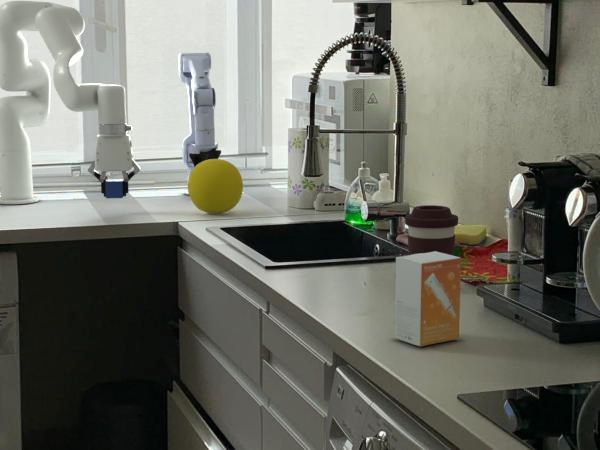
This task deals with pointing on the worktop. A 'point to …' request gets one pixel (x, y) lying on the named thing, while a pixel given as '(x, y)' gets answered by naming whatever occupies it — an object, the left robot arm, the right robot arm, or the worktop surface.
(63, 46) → the left robot arm
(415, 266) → the small box
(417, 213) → the coffee cup
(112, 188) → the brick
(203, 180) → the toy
